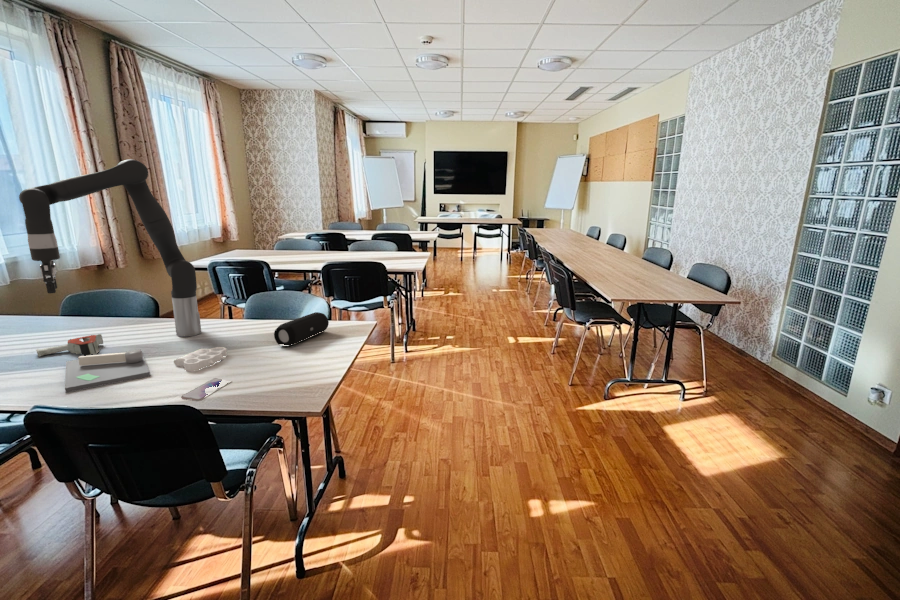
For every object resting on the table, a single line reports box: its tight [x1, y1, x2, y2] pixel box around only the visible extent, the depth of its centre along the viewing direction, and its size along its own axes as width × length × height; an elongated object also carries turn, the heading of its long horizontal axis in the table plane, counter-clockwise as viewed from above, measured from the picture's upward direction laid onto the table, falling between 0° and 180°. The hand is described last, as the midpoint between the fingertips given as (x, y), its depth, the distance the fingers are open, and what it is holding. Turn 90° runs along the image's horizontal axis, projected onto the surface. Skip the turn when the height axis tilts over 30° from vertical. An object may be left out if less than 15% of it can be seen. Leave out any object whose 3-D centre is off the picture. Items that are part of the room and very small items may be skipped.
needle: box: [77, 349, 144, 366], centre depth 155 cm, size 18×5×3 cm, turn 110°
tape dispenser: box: [35, 333, 104, 357], centre depth 170 cm, size 18×5×20 cm
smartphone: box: [180, 378, 223, 401], centre depth 141 cm, size 7×1×15 cm
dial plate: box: [64, 349, 151, 394], centre depth 153 cm, size 22×28×2 cm
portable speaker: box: [273, 312, 330, 345], centre depth 190 cm, size 26×10×10 cm, turn 158°
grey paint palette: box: [173, 346, 228, 372], centre depth 163 cm, size 3×18×15 cm
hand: (52, 290), depth 158 cm, fingers open, 8 cm apart
